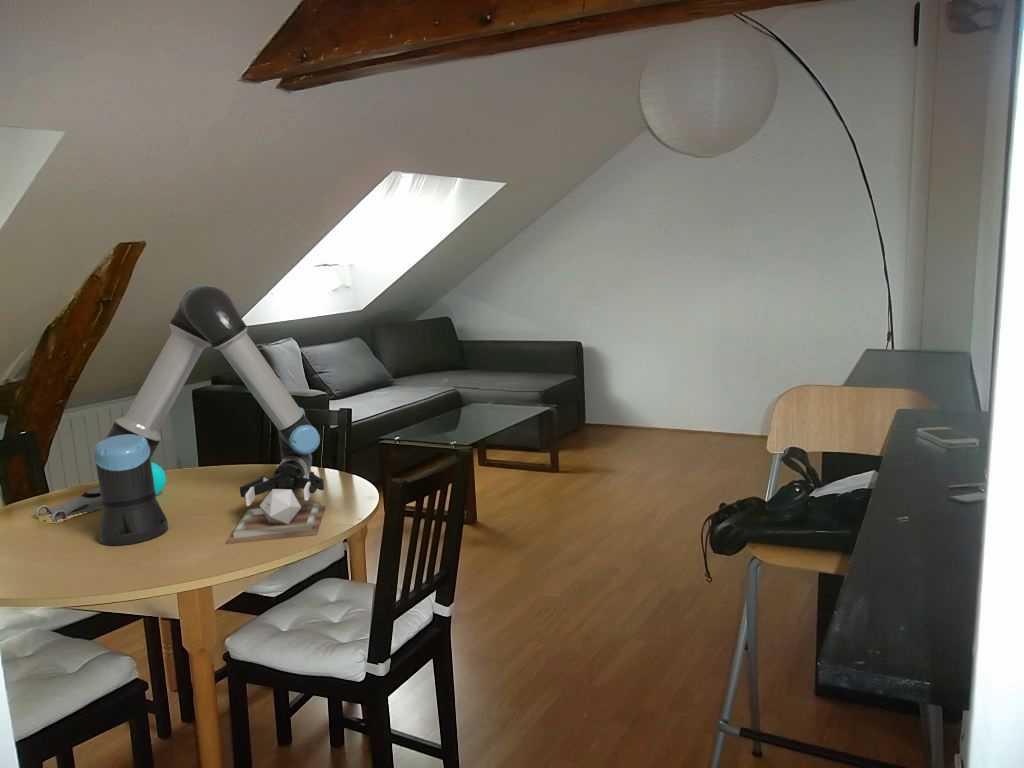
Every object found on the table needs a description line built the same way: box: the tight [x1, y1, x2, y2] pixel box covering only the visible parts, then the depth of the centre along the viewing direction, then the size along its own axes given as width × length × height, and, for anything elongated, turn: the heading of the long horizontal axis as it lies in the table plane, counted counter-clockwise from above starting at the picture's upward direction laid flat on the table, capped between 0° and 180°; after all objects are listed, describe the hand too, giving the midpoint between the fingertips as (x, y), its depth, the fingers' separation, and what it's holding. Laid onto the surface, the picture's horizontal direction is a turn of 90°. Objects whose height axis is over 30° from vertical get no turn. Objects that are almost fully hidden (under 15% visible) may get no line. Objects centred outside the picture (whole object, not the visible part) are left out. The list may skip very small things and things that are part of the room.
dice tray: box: [226, 501, 327, 545], centre depth 193 cm, size 20×20×2 cm
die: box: [259, 489, 301, 524], centre depth 192 cm, size 8×9×10 cm
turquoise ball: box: [151, 461, 167, 496], centre depth 220 cm, size 10×10×10 cm
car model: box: [34, 486, 103, 522], centre depth 216 cm, size 11×24×5 cm, turn 145°
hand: (276, 497), depth 191 cm, fingers open, 13 cm apart
